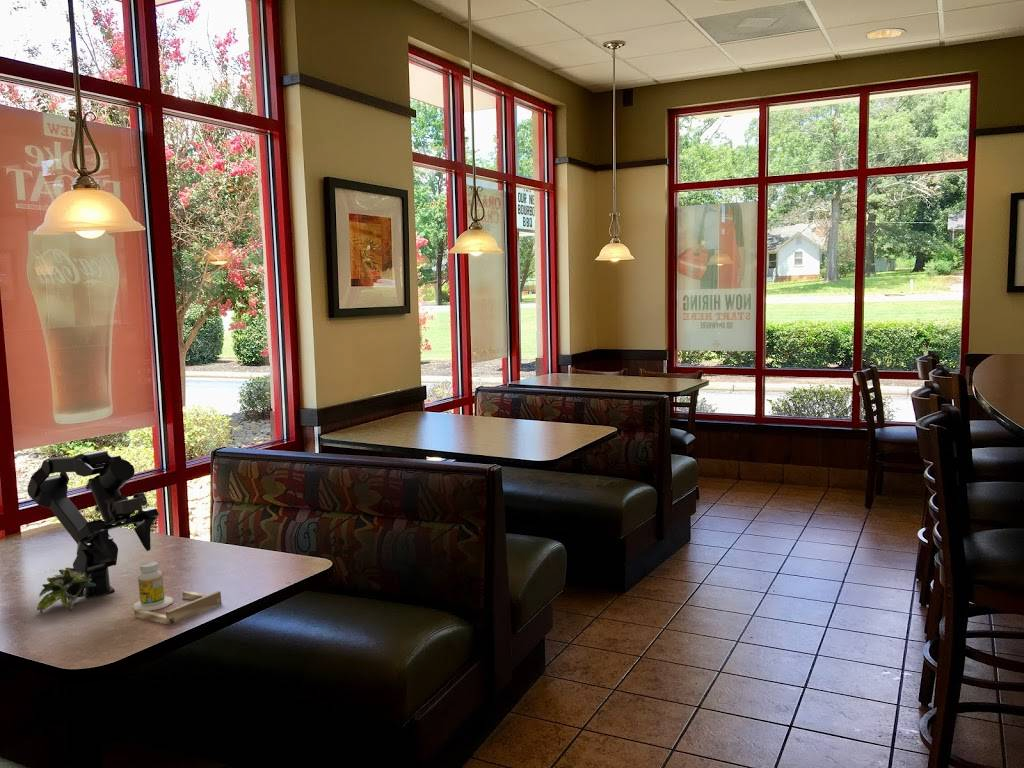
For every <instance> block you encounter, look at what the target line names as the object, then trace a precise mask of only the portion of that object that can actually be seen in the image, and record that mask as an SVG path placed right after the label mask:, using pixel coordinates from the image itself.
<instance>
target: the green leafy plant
mask: <svg viewBox="0 0 1024 768" xmlns="http://www.w3.org/2000/svg"><path fill="white" fill-rule="evenodd" d="M58 572H59V574H54V575H53V576H51V577H49V576H48V577H46V581H47V582H48V583H43V584H42V587H43V588H42V589H41V591H40V592H39V598H40V597H42V596H43V595H44V596H43V598H42V599H41V600H40V601H39V602H38V604H37V606H36V610H37V612H38V611H39V613H42V612H43V610H46V609H48V608H49V607H51V606H52V605H54V603H56V602H58V601H59V600H60V602H61V603H62V604H63V605H64V606H65V607H69V606H70V605H69V603H70V604H71V606H70V610H69V611H70V612H72V611H73V610H72V609H73V608H74V605H75V602H76V600H77V599H79V598H83V597H84V596H85V595H84V594H83V591H84V589H85V588H86V587H95V586H96V583H92V582H90V581H91V580H92V579H90V577H91V574H90V575H89V576H88V577H86V576H87V575H86V572H83V573H81V571H78V572H77V569H76V568H73V567H65V569H59V570H58ZM47 592H48V593H47ZM46 593H47V594H46ZM41 611H42V612H41Z"/></svg>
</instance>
